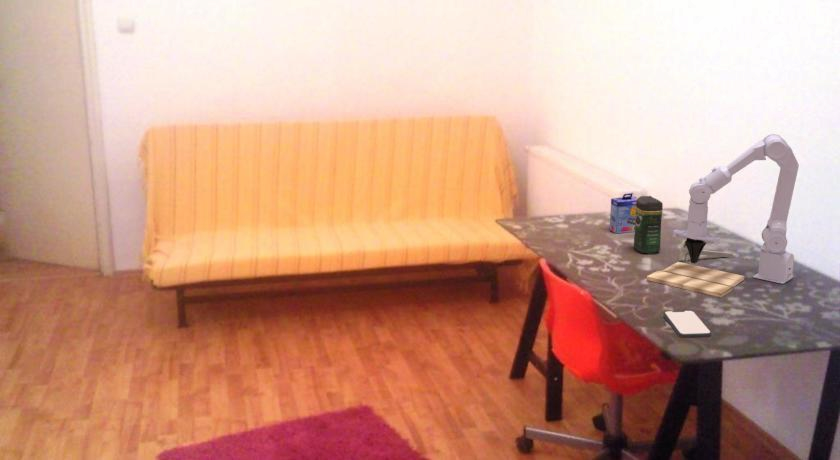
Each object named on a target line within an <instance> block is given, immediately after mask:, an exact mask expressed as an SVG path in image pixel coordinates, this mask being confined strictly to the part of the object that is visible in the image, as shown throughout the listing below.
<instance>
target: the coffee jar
mask: <svg viewBox="0 0 840 460" xmlns="http://www.w3.org/2000/svg"><path fill="white" fill-rule="evenodd" d="M637 198H638V199H637V201H636V224H635V232H634V237H633V238H634V239H633V248H634V249H635V250H636V251H637V252H639V253H643V254H648V255H649V254H650V255H651V254H652V255H653V254H656V253H660V251H661V238H662V237H661V236H662V232H661V231H662V217H663V209H664V208H663V207H664V205H663V202H662V201H661V200H659V199H657V198H656V197H653V196H652V195H641V196H639V197H637Z"/></svg>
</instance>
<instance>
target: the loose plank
mask: <svg viewBox="0 0 840 460" xmlns="http://www.w3.org/2000/svg"><path fill="white" fill-rule="evenodd" d="M663 271H667V272H672V273H676V274H681V275H685V276H690V277H694V278H699V279H703V280H707V281H712V282H716V283H721V284H725V285H730V286H733V288H734V287H736V286H737V285H738V284H739V283H741V282H743V281H744V280H745V275H741V274H736V273H731V272H727V271H722V270H717V269H713V268H708V267H704V266H701V265H700V266H699V265H694V264H692V263H687V262H683V261H682V262H681V261H677V262H675V263H673V264H671V265H669V266H668V267H666V268H665V269H663Z"/></svg>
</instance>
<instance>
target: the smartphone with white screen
mask: <svg viewBox="0 0 840 460" xmlns="http://www.w3.org/2000/svg"><path fill="white" fill-rule="evenodd" d="M663 318H664V319H665V321H668V322H667V324H669V326H670V325H671V326H672V327H671V326H670V327H671V329H672V330H675V331H676V332H675V331H674V332H675V333H676V335H679V336H678V337H680V336H682V337H681V338H683V337H690V338H711V337H712V335H713V334H712V333H713V332H712V331H711V330H710V329H709V327H708V326H707V325H706V324H705V323H704V321H703V320H702V319H701V318H700V317H699V316H698V315H697V313H696V312H695V311H693V310H670V311H669V310H665V311H664V312H663ZM710 336H711V337H710Z"/></svg>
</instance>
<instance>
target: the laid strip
mask: <svg viewBox="0 0 840 460" xmlns="http://www.w3.org/2000/svg"><path fill="white" fill-rule="evenodd" d="M663 270H664V269H663ZM663 270H662V269H658V270H657V271H655V272H652V273H650V274H648V275H647V276H646V281H649V282H654V283H659V284H662V285H665V286H666V285H667V286H671V287H676V288H679V289H683V290H687V291H691V292H696V293H700V294H705V295H709V296H712V297H717V298H722V297H724V296H726V295H727V294H729V293H731V292H732V291H733V290H734V289H733V288H734V287H733V286H730V285H725V284H721V283H716V282H712V281H707V280H703V279H699V278H694V277H690V276H685V275H681V274H676V273H672V272H667V271H663Z"/></svg>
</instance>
